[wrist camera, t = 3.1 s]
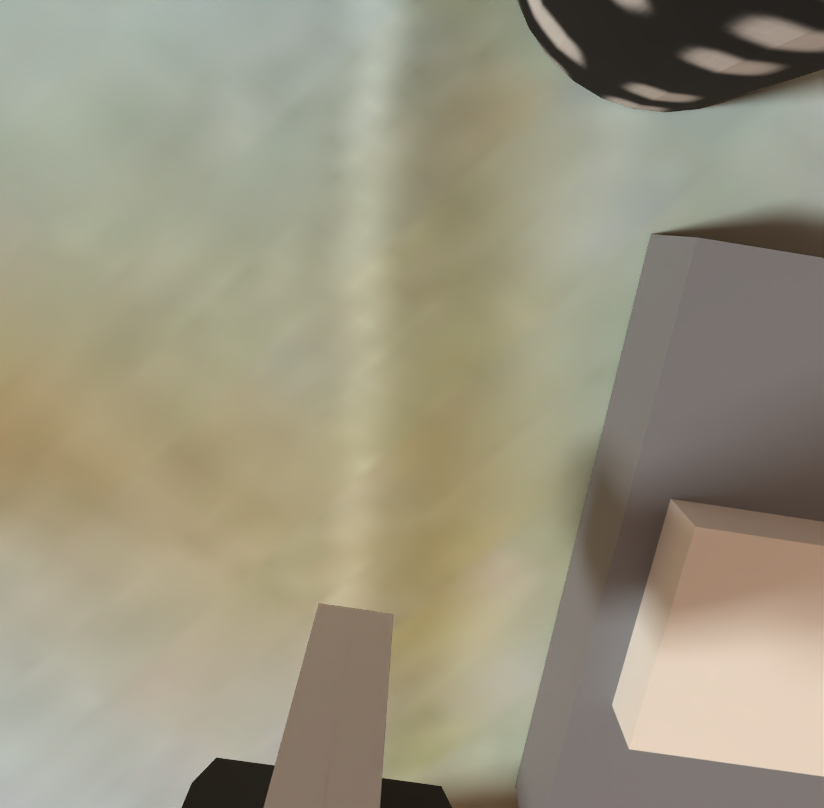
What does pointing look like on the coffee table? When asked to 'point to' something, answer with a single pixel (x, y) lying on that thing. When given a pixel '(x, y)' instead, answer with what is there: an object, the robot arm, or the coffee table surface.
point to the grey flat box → (689, 481)
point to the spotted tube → (679, 47)
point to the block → (730, 642)
